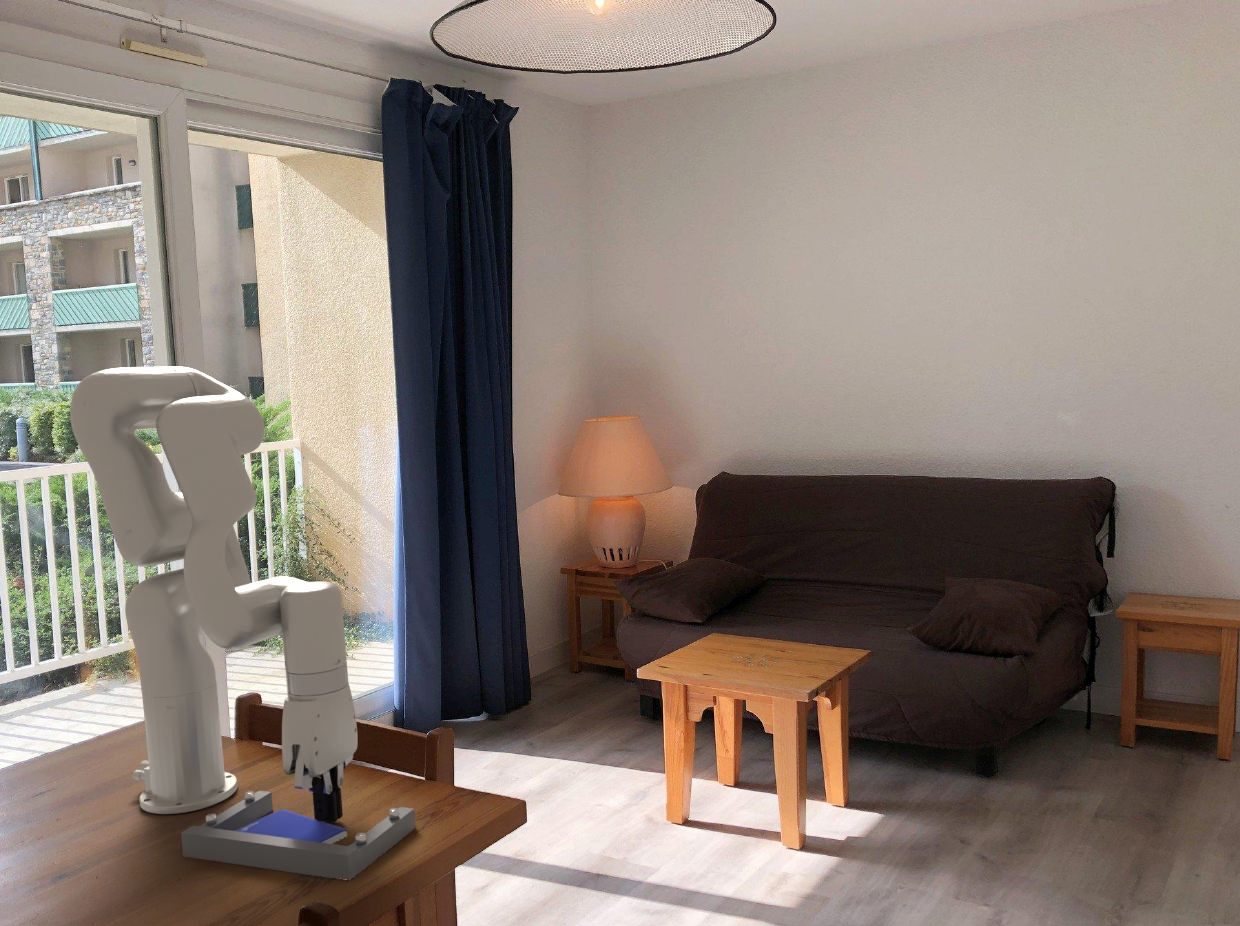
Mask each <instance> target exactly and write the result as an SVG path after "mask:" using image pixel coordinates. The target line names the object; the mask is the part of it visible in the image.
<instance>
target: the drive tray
mask: <svg viewBox="0 0 1240 926" xmlns="http://www.w3.org/2000/svg"><path fill="white" fill-rule="evenodd" d="M272 794H273V793H272V791H267V790H265V791H264V790H258V791H256V792H254V791H252V790H250V791H246V792H245V793H244V799H243V800H241V801H240V802H238V803H236V804H234V805H233V806H230V807H229V808H227V809H225V810H224V811H223V812H220V813H219V814H216V813H209V814H207V815H206V816H205V822H203V823H202V824H200V825H191V826H190V827H187V829H185V830H183V831H182V832H180V836H181V845H182V847H181V848H182V857H184V858H192V859H198V860H204V861H211V862H212V861H213V862H219V863H226V864H233V865H238V866H239V865H240V866H245V867H251V868H252V867H253V868H259V869H265V870H273V871H280V872H287V873H293V874H301V875H306V876H307V875H308V876H312V877H313V876H314V877H320V876H321V877H320V878H328V879H333V878H338V879H337V880H340V878H341V879H347V880H350V879H352V878H353V879H354V878H355V877H357V876H358V875H359V874H360V873H362V872H361V871H362V870H363V869H364V868H365V869H366V867H367V868H368V867H369V866H370V865H372V864H373V863H374V862H375V861H377V860H378V859H379V858H380V857H382V856H383V855H384V854H385V853H386V852H388V851H389V850H390V849H392V848H393V845H394V844H395V845H397V843H399V842H400V841H401V840H402V839H403V837H404V836H405V837H406V836H407V835H409V834H410V833H411V832H412V831H413V830H415V829H416V828H415V827H416V815H415V814H416V813H415V808H412V807H406V806H400V807H392V808H390V809H388V816H387V817H385V818H384V819H383V820H382V821H380V822H379V823H377V824H376V825H375V826H374V827H372V828H371V829H369V830H368V831H367V832H358V833H356V834H355V835H354V836H355V840H354V841H353V843H351V844H350V845H341V844H335V843H333V844H327V843H320V842H312V841H305V840H297V839H290V838H282V837H275V836H267V835H260V834H252V833H245V832H237V831H235V830H237V829H239V828H241V827H244V826H246V825H248V824H250V823H253V822H255V821H257V820H259V819H261V818H263V817H265V816H267V815H269V813H270V812H272V811H273V810H274V809H273V797H272V796H273V795H272ZM414 828H415V829H414ZM411 830H412V831H411ZM405 837H404V838H405ZM395 845H394V846H395ZM388 849H389V850H388ZM383 853H384V854H383ZM382 854H383V855H382ZM379 856H380V857H379ZM378 857H379V858H378ZM377 858H378V859H377ZM374 860H375V861H374ZM373 861H374V862H373ZM372 862H373V863H372ZM368 865H369V866H368ZM365 869H364V870H365ZM364 870H363V871H364ZM359 872H360V873H359ZM358 873H359V874H358ZM357 874H358V875H357ZM356 875H357V876H356ZM353 879H352V880H353ZM350 881H351V880H350Z"/></svg>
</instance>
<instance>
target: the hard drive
mask: <svg viewBox="0 0 1240 926" xmlns="http://www.w3.org/2000/svg"><path fill="white" fill-rule="evenodd" d="M235 831H237V832H245V833H252V834H260V835H267V836H275V837H282V838H290V839H297V840H305V841H312V842H320V843H327V844H331V843H333V844H335V843H337V842H339V841H340V840H339V839H341V840H343V839H345V838H346V837H348V829H347V828H344V827H341V826H337V825H334V824H331V823H329V822H323V821H319V820H316V819H315V818H312V817H309V816H306V815H304V814H300V813H296V812H294V811H290V810H287V809H283V808H282V809H279V810H277V811H275V812H273V813H270V814H267V815H265V816H263V817H261V818H260V819H258V820H256V821H255V822H253V823H250V824H248V825H246V826H244V827H241V828H239V829H237V830H235ZM344 837H345V838H344ZM336 841H337V842H336ZM334 842H335V843H334Z"/></svg>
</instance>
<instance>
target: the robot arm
mask: <svg viewBox="0 0 1240 926" xmlns="http://www.w3.org/2000/svg"><path fill="white" fill-rule="evenodd" d="M69 410H70V412H69V416H70V423H71V424H70V425H71V428H72V432H73V436H74V438H75V441H76V443H77V444H78V446H79V449H80V451H81V453H82V454H83V456H84V458H85V460H86V461H87V463H88V465H89V467H90V470H91V472H92V474H93V475H94V477H95V478H94V479H95V482H96V484H97V487H98V492H99V495H100V499H101V501H102V504H103V507H104V509H105V510H104V511H105V513H106V516H107V519H108V520H107V521H108V522H109V526H110V528H111V532H112V533H111V534H112V535H113V538H114V541H115V545H116V546H117V548H118V552H119V554H120V556H121V557H122V558H123V560H124V561H125V563H128V564H129V565H131V566H133V567H139V568H140V567H143V568H144V567H152V566H158V565H162V564H167V563H171V562H176V561H181V560H183V568H180V569H176V570H172V571H167V572H163V573H160V574H159V573H158V574H157V575H156V574H155V575H153V576H150V577H148V578H146V579H144V580H142V581H141V582H139V583H137V584H136V585H135V586H134V587H133V588H132V589H131V591H129V594H128V596H127V597H126V601H125V606H124V608H125V609H124V611H125V612H124V613H125V619H126V620H125V621H126V623H127V626H128V629H129V633H130V635H131V639H132V643H133V645H134V648H135V649H134V650H135V654H136V657H137V658H136V659H137V665H138V671H139V679H140V680H139V681H140V689H141V695H142V705H143V706H142V708H143V717H144V728H145V729H144V730H145V736H146V737H145V738H146V739H145V740H146V748H147V759H148V760H146V759H145V760H142V761H141V762H140V763H139V765H138V769H135V770H134V771H133V773H132V779H133V780H136V781H144V782H145V784H144V785H145V790H143V791H142V793H141V794H140V795H139V806H140V807H141V808H140V809H142V810H143V811H145V812H147V813H151V814H154V815H155V814H156V815H157V814H158V815H174V814H175V815H176V814H184V813H188V812H194V811H199V810H202V809H205V808H208V807H212V806H214V805H216V804H218V803H221V802H223V801H225V800H226V799H228V798H230V797H231V796H232V795H233V794H234V793H236V791H237V789H238V778H237V777H236V776H235V775H234V774H232V773H230V772H229V771H228V772H227V771H225V764H224V763H225V762H224V752H223V742H222V741H223V740H222V729H221V719H220V710H219V709H220V708H219V707H220V706H219V695H218V685H217V675H216V669H215V665H214V662H213V659H212V657H211V656H210V654H209V653H208V651H207V650H206V649H205V648H204V646H203V645H202V644H201V642H200V641H199V636H202V635H204V634H206V636H207V638H208V639H209V640H210V641H212V643H214V644H215V645H216V646H217V647H220V648H222V649H225V650H239V649H241V648H245V647H249V646H252V645H255V644H258V643H259V642H262V641H266V640H269V639H273V638H276V637H279V636H282V644H283V645H282V646H283V656H284V666H285V667H284V668H285V669H284V670H285V678H286V679H285V680H286V691H287V692H286V693H287V697H285V698H284V701H283V702H284V703H283V710H282V720H281V748H282V749H281V754H282V755H281V757H282V768H283V772H284V774H285V775H288V776H292V775H294V784H293V785H294V788H295V789H297V790H308V791H309V792H310V793H311V794H312V803H313V815H314V819H316V820H319V821H322V822H325V823H336V822H337V821H338V820H340V819H341V818H343V814H344V813H343V804H342V803H343V802H342V801H343V800H342V789H341V787H342V786H343V784H344V771H345V769H346V766H348V765H349V763H350V762H352V761H353V759H354V754H355V752H356V751H357V749H358V742H359V741H358V727H357V726H358V725H357V718H356V710H355V704H354V700H353V694H352V691H351V686H350V684H349V683H350V682H349V674H348V673H349V672H348V662H347V661H348V660H347V648H346V636H345V635H346V634H345V623H344V621H345V620H344V612H343V610H344V609H343V599H342V592H341V589H340V587H339V586H338V585H337V584H335V583H334V582H329V581H322V580H321V581H306V580H303V579H301V578H297V577H293V576H287V575H279V576H274V577H269V578H266V579H265V578H264V579H262V580H258V581H253V582H252V581H251V578H250V577H251V576H250V574H249V570H248V568H247V567H248V566H247V565H246V561H245V558H244V556H243V551H242V549H241V546H240V542H239V539H238V536H237V533H236V531H235V526H234V525H235V524H236V523H237V522H238V521H240V520H241V519H242V518H244V517H245V516H246V515H248V514H249V513H250V512H251V511H252V510H253V509H254V507H255V506H256V504H257V502H258V495H257V493H256V490H255V488H254V486H253V483H252V480H251V479H250V476H249V474H248V471H247V469H246V466H245V465H244V462H243V460H242V458H241V455H247V454H249V453H253V452H254V451H255V450H257V449H258V448H259V447H260V445H261V444H262V443H263V440H264V436H265V424H264V423H265V422H264V419H263V416H262V414H261V412H260V410H259V409H258V408H257V406H256V405H255V403H253V401H252V400H250V399H249V398H248V397H247V396H245V395H244V394H242V393H241V392H239V391H237V390H236V389H234V388H233V387H230V386H228V385H226V384H224V383H223V382H220V381H219V380H216V379H215V378H213V377H212V376H209V375H207V374H205V373H203V372H201V371H199V370H197V369H194V368H192V367H186V366H135V367H134V366H131V367H130V366H127V367H114V368H108V369H103V370H99V371H96V372H94V373H91V374H89V375H87V376H85V377H84V378H83V379H82V380H81V381H80V382H79V383H78V384H77V386H76V388H75V389H74V392H73V394H72V397H71V402H70V409H69ZM145 429H146V430H147V429H156V433H157V434H156V435H157V437H158V440H159V442H160V445H161V447H162V449H163V452H164V454H165V456H166V459H167V462H168V464H169V466H170V469H171V472H172V473H173V476H174V479H175V480H176V483H177V486H178V488H179V490H180V491H177V492H173V491H172V489H171V488H170V485H169V483H168V480H167V477H166V473H165V470H164V467H163V464H162V463H161V461H160V459H159V457H158V456H157V455H156V453H155V452H154V451H153V450H152V448H150V446H149V445H147V443H146V442H145V441H143V440H142V439H141V438H139V437H138V436H137V435H136V431H137V430H145Z"/></svg>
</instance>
